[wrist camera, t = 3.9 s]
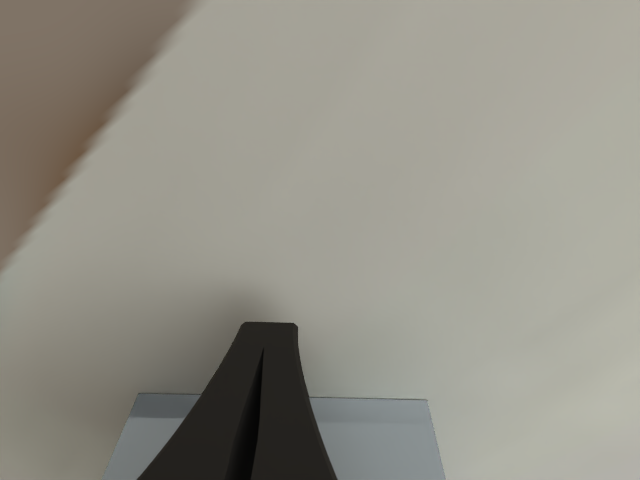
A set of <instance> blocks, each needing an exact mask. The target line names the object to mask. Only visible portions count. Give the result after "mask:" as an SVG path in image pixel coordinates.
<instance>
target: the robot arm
mask: <svg viewBox="0 0 640 480" xmlns="http://www.w3.org/2000/svg"><path fill="white" fill-rule="evenodd" d="M137 480H338V479H337V477H336V474H335V472H334V469H333V467H332V464H331V462H330V459H329V456H328V454H327V451H326V448H325V446H324V443H323V440H322V437H321V434H320V431H319V428H318V425H317V422H316V419H315V416H314V413H313V410H312V406H311V403H310V399H309V395H308V392H307V388H306V384H305V380H304V376H303V372H302V367H301V361H300V356H299V348H298V326H297V325H295V324H294V323H275V322H245V323H243V324H242V325H241V327H240V329H239V331H238V333H237V335H236V337H235V339H234V341H233V343H232V345H231V347H230V349H229V350H228V352H227V354H226V356H225V357H224V359H223V361H222V363H221V364H220V366H219V368H218V369H217V371H216V372H215V374H214V376H213V377H212V379H211V380H210V382H209V384H208V385H207V387H206V388H205V390H204V391H203V393H202V395H201V396H200V397H199V399H198V400H197V402H196V403H195V405H194V406H193V407H192V409H191V410H190V412H189V413H188V415H187V416H186V417H185V419H184V420H183V422H182V423H181V424H180V426H179V427H178V429H177V430H176V431H175V433H174V434H173V435H172V437H171V438H170V439H169V440H168V442H167V443H166V444H165V446H164V447H163V448H162V449H161V451H160V452H159V453H158V454H157V456H156V457H155V458H154V459H153V461H152V462H151V463H150V464H149V465H148V467H147V468H146V469H145V470H144V472H143V473H142V474H141V475H140V476H139V477H138V478H137Z"/></svg>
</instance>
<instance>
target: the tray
mask: <svg viewBox="0 0 640 480" xmlns="http://www.w3.org/2000/svg"><path fill="white" fill-rule="evenodd" d="M200 396H201V395H183V394H141V393H139V394H138V396H137V398H136V401H135V403H134V405H133V408H132V410H131V412H130V415H129V417H128V419H127V422H126V424H125V426H124V429H123V431H122V433H121V436H120V438H119V440H118V442H117V445H116V447H115V449H114V452H113V454H112V456H111V459H110V461H109V463H108V466H107V468H106V470H105V473H104V475H103V477H102V480H137V478H138V477H139V476H140V475H141V474H142V473H143V472H144V470H145V469H146V468H147V467H148V465H149V464H150V463H151V462H152V461H153V459H154V458H155V457H156V456H157V454H158V453H159V452H160V451H161V449H162V448H163V447H164V446H165V444H166V443H167V442H168V440H169V439H170V438H171V437H172V435H173V434H174V433H175V431H176V430H177V429H178V427H179V426H180V424H181V423H182V422H183V420H184V419H185V417H186V416H187V415H188V413H189V412H190V410H191V409H192V407H193V406H194V405H195V403H196V402H197V400H198V399H199V397H200ZM309 399H310V403H311V406H312V410H313V413H314V416H315V419H316V422H317V425H318V428H319V431H320V434H321V437H322V440H323V443H324V446H325V448H326V451H327V454H328V456H329V459H330V462H331V464H332V467H333V469H334V472H335V474H336V477H337V479H338V480H446V478H445V474H444V469H443V465H442V461H441V457H440V453H439V448H438V444H437V440H436V436H435V431H434V427H433V423H432V419H431V414H430V410H429V406H428V402H427V400H396V399H353V398H311V397H309Z"/></svg>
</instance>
